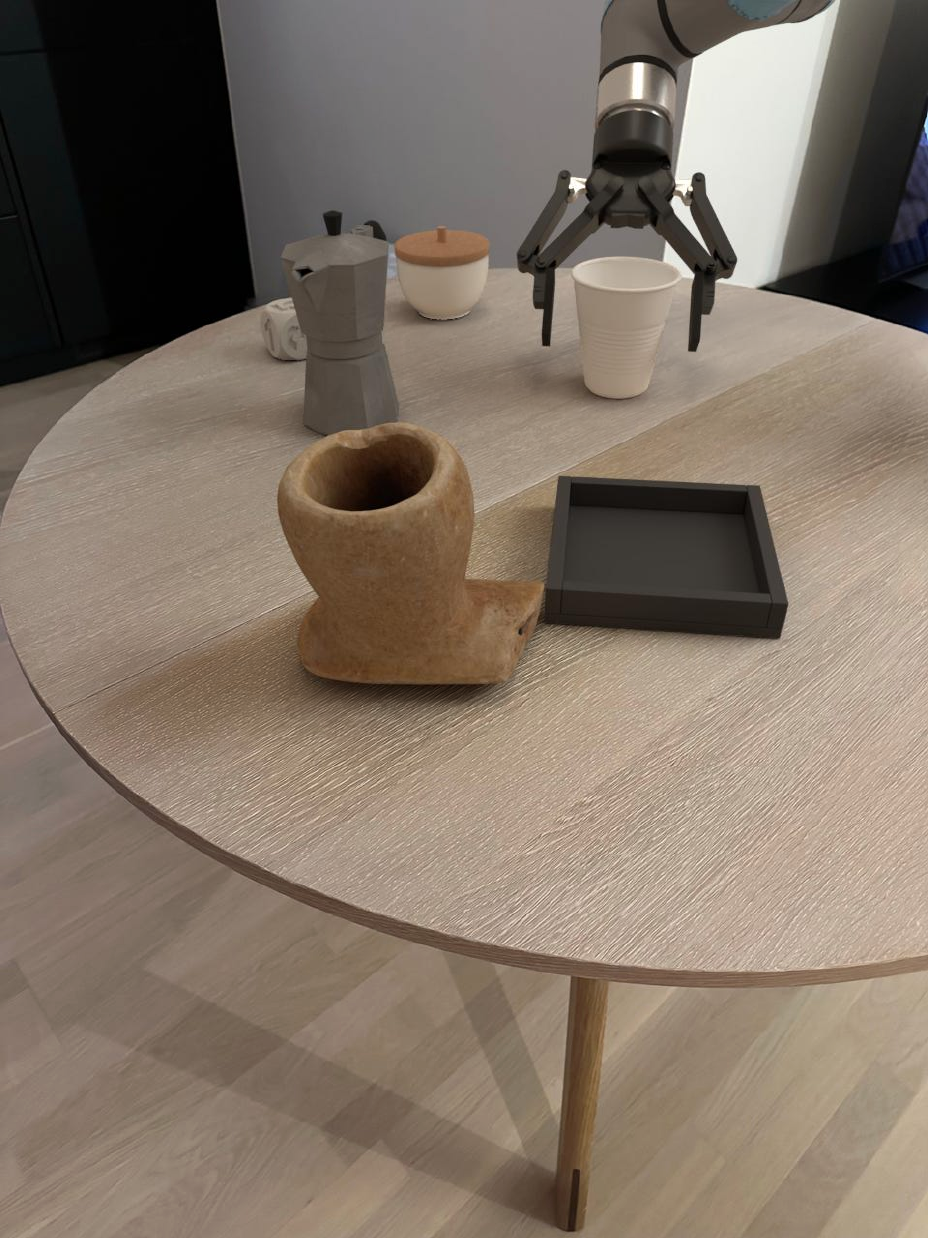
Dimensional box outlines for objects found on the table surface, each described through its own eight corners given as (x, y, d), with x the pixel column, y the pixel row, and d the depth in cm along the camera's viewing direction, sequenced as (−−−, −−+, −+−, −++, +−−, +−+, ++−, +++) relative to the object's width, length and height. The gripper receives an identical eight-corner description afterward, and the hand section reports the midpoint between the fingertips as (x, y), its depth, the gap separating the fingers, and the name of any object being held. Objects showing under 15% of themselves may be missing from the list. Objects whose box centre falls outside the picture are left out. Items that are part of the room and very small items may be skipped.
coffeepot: (367, 455, 80) (347, 237, 69) (271, 439, 83) (238, 227, 72) (434, 386, 91) (427, 189, 80) (349, 374, 94) (330, 182, 83)
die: (264, 350, 100) (257, 303, 97) (306, 340, 102) (300, 294, 99) (283, 364, 96) (276, 317, 93) (326, 354, 99) (321, 307, 96)
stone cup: (275, 715, 54) (231, 489, 45) (322, 596, 63) (294, 389, 54) (535, 733, 53) (544, 503, 43) (544, 608, 62) (553, 397, 53)
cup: (552, 400, 88) (557, 282, 82) (580, 362, 96) (587, 251, 89) (655, 415, 85) (669, 294, 79) (676, 374, 93) (691, 261, 86)
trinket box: (379, 316, 108) (373, 231, 102) (434, 290, 115) (431, 210, 109) (455, 334, 103) (453, 245, 97) (507, 306, 110) (508, 222, 104)
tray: (753, 517, 71) (760, 485, 69) (780, 639, 59) (788, 603, 57) (556, 506, 73) (558, 475, 71) (544, 623, 61) (545, 588, 59)
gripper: (759, 158, 91) (749, 364, 88) (506, 154, 94) (489, 354, 91) (776, 106, 84) (766, 329, 81) (501, 104, 87) (482, 319, 84)
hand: (619, 343), depth 86 cm, fingers open, 13 cm apart
